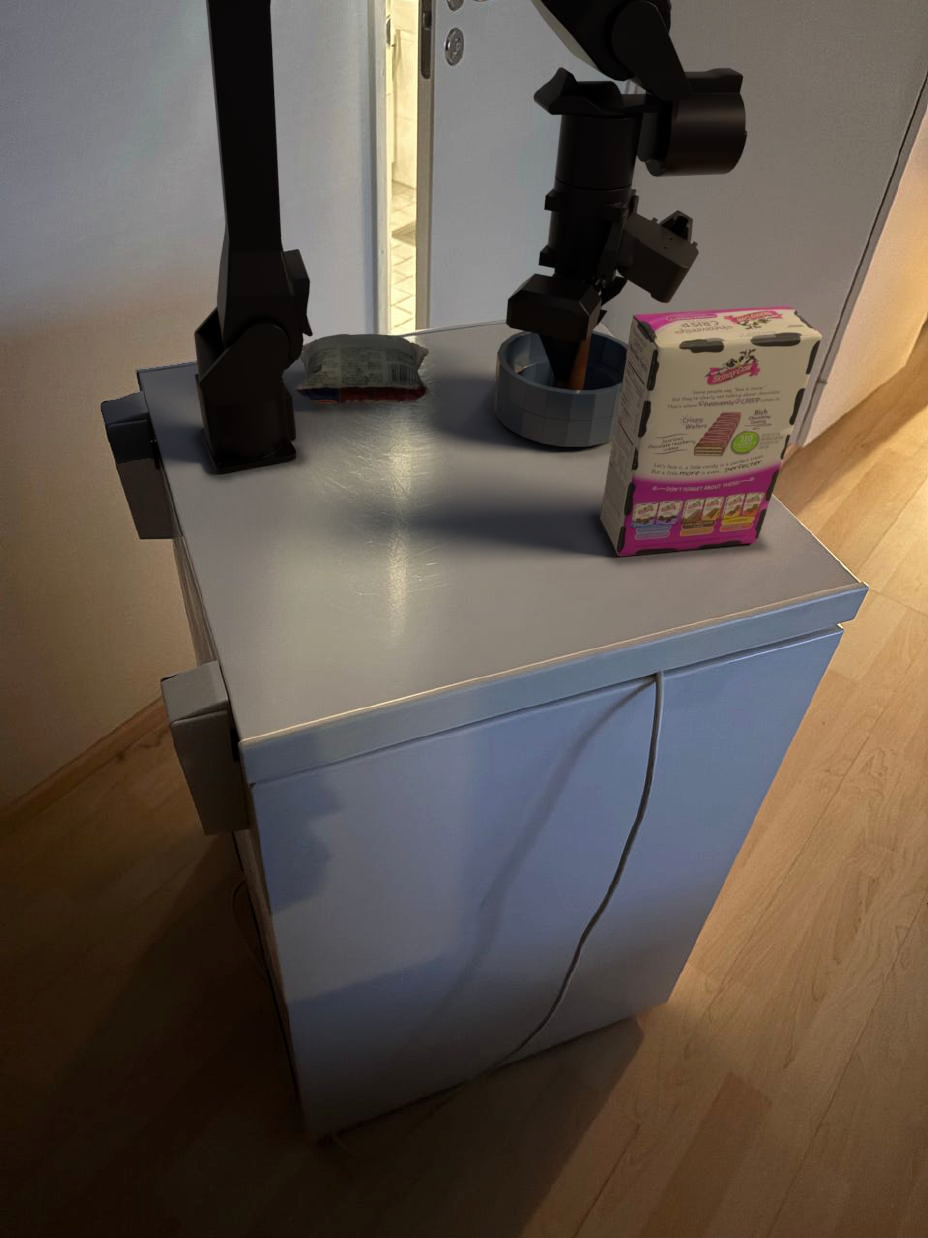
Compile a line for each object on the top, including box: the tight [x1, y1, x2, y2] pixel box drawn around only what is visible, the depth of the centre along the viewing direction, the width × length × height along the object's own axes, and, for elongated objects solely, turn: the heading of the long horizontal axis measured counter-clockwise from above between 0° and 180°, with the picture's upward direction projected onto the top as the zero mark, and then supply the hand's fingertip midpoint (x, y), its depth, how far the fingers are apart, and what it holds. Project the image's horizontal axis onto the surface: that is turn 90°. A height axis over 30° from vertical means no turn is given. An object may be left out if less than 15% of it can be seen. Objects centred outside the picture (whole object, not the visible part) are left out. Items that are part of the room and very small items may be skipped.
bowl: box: [492, 330, 628, 448], centre depth 77 cm, size 12×12×6 cm
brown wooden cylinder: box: [551, 334, 591, 390], centre depth 75 cm, size 3×3×9 cm
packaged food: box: [294, 333, 434, 405], centre depth 79 cm, size 9×12×5 cm
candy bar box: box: [599, 305, 823, 557], centre depth 61 cm, size 11×5×16 cm, turn 101°
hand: (567, 373), depth 76 cm, fingers closed on brown wooden cylinder, 3 cm apart
